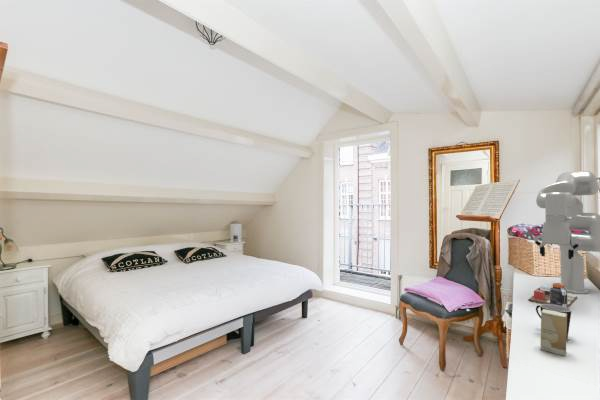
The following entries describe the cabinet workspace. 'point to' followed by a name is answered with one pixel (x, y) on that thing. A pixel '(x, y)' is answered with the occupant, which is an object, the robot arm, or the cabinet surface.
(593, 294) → the cabinet surface
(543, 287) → the dome
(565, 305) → the pill bottle
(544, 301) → the game board
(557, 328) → the skincare box
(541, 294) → the red die
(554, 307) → the coffee mug
